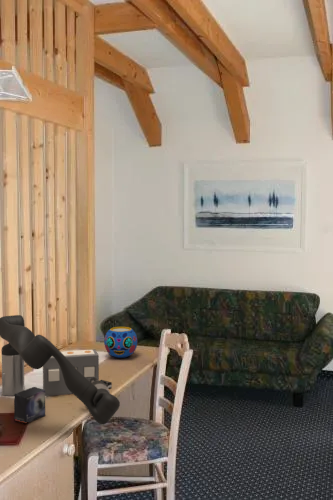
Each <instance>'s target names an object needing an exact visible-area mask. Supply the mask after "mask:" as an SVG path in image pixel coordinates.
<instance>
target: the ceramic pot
mask: <svg viewBox="0 0 333 500" xmlns="http://www.w3.org/2000/svg"><path fill="white" fill-rule="evenodd" d="M137 336H138V335H137V333H136V332H135V330H134V329H133V328H131V327H129V326H114V327H111V328H110V329H109V330H107V332H105V336H104V343H103V344H104V348H105V350H106V352H107V354H108V355H110V356H111V357H114V358H119V359H123V358H127V357H131V355H133V354H134V353H135V351H136V350H137V346H138V337H137Z"/></svg>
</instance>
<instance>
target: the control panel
mask: <svg viewBox="0 0 333 500" xmlns="http://www.w3.org/2000/svg"><path fill="white" fill-rule="evenodd" d="M60 352H61V353H62V354H63V355H64V356H65V357H66V358H67V359H68V360H69V361H70V362H71V364H72V365H73V366H74V367H77V370H78V371H79V372H80V373H81V374H82V375H83V376H84V367H85V366H95V377H85V378H87V379H88V380H89V381H90V379H92V378H96V379H97V380H100V378H99V377H100V376H99V374H100V373H99V372H100V371H99V370H100V368H99V367H100V363H99V362H100V361H99V360H100V359H99V358H100V355H99V354H98V351H97V350H96V349H83V350H65V351H64V350H63V351H60ZM57 368H59V381H49V380H48V369H57ZM42 389H44V390H45V397H51V396H52V397H53V396H61V395H62V396H64V395H74V394H73V393H71V392H70V391H69V389H68V388H67V386H66V384H65V381H64V378H63V374H62V371H61V368H60V366H59V364H58V362H57V360H56V359H55V358H54V357H53V356H52V357H50V359H49V360H48V361H47V362H46V363H45V365H44V366H43V367H42Z"/></svg>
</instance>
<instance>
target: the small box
mask: <svg viewBox="0 0 333 500" xmlns="http://www.w3.org/2000/svg"><path fill="white" fill-rule="evenodd" d="M13 399H14V400H13V401H14V403H13V406H14V408H13V409H14V412H13V413H14V415H13V416H14V418H13V420H14V419H17V420H20V421H24V422H29V423H32V422H34V421H37V420H38V419H42V418H44V417H46V396H45V390H44V389H43V388H41V387H37V386H33V387H30V388H27V389H25V390H24V391H21V392H18V393H15V394H14V396H13ZM29 423H28V424H29Z"/></svg>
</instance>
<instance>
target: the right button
mask: <svg viewBox="0 0 333 500" xmlns="http://www.w3.org/2000/svg"><path fill="white" fill-rule="evenodd" d="M84 377H95V366H85V367H84Z"/></svg>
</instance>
